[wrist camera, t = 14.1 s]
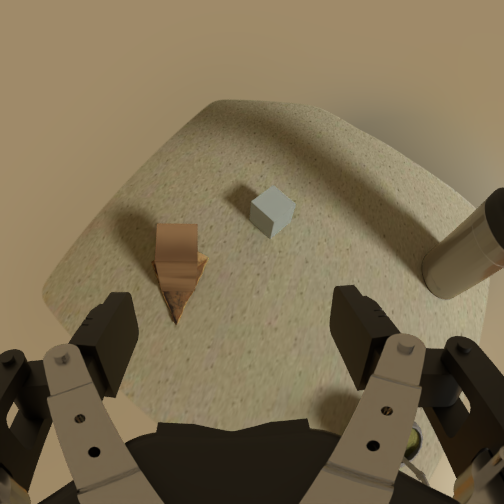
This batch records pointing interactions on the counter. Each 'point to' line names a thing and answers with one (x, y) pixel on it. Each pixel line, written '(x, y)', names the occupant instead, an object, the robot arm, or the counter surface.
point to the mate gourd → (414, 452)
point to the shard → (180, 298)
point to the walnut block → (176, 256)
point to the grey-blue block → (271, 211)
